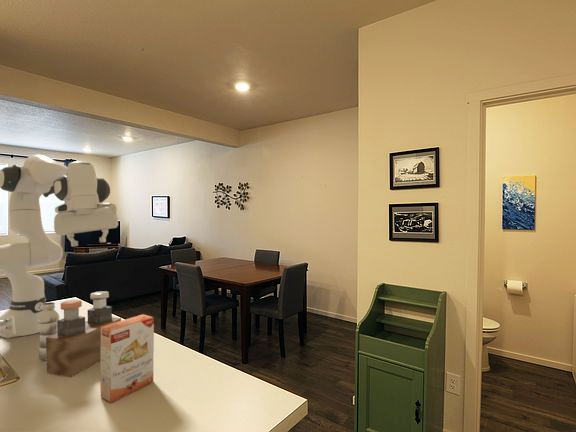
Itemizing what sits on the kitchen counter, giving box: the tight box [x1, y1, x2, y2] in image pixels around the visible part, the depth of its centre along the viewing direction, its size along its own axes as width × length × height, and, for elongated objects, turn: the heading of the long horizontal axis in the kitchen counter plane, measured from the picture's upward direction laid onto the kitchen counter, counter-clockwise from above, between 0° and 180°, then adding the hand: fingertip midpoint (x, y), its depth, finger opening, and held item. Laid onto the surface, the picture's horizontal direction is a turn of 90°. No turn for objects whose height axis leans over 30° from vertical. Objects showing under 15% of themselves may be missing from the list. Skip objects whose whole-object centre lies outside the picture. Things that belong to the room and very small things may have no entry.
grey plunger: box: [90, 290, 110, 310], centre depth 124 cm, size 6×6×6 cm
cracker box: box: [100, 313, 155, 403], centre depth 100 cm, size 14×6×21 cm, turn 148°
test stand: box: [46, 305, 122, 378], centre depth 118 cm, size 10×22×17 cm, turn 165°
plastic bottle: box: [37, 301, 60, 361], centre depth 120 cm, size 6×7×20 cm
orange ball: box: [60, 299, 83, 321], centre depth 112 cm, size 6×6×6 cm
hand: (88, 244), depth 117 cm, fingers open, 8 cm apart
